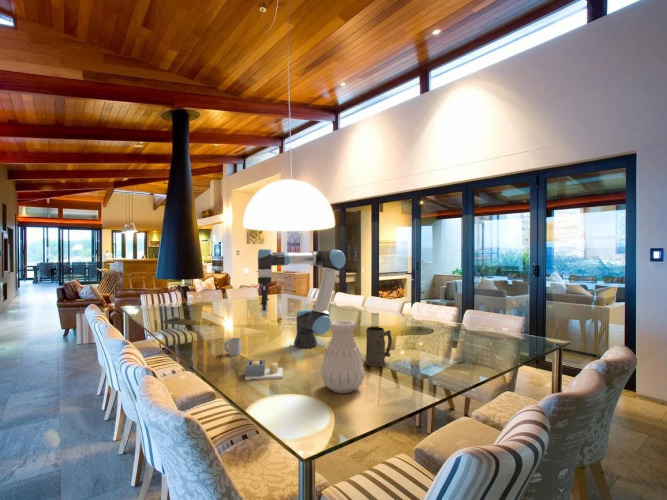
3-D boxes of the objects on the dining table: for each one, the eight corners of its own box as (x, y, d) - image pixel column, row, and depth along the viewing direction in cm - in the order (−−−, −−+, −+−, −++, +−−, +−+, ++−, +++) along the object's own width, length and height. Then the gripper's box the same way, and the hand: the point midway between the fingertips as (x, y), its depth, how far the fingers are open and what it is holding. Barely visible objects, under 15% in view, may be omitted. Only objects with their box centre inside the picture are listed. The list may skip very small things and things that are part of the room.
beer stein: (371, 368, 191) (373, 330, 191) (360, 362, 200) (362, 326, 201) (394, 365, 198) (396, 329, 198) (383, 360, 207) (385, 325, 208)
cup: (238, 355, 212) (238, 340, 212) (222, 355, 212) (222, 340, 212) (242, 352, 220) (242, 337, 220) (225, 352, 220) (225, 337, 220)
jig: (282, 370, 188) (282, 357, 188) (282, 378, 176) (282, 364, 176) (247, 371, 185) (247, 358, 185) (245, 380, 173) (245, 366, 173)
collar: (265, 369, 185) (265, 359, 185) (264, 375, 176) (264, 365, 176) (247, 370, 184) (247, 360, 184) (245, 376, 175) (245, 366, 175)
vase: (351, 401, 149) (351, 329, 149) (312, 391, 160) (312, 324, 160) (372, 385, 166) (372, 321, 166) (335, 377, 177) (335, 316, 177)
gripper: (259, 275, 213) (259, 310, 214) (256, 278, 189) (256, 318, 189) (271, 274, 215) (272, 310, 215) (270, 278, 190) (271, 318, 190)
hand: (264, 314), depth 202 cm, fingers open, 13 cm apart
